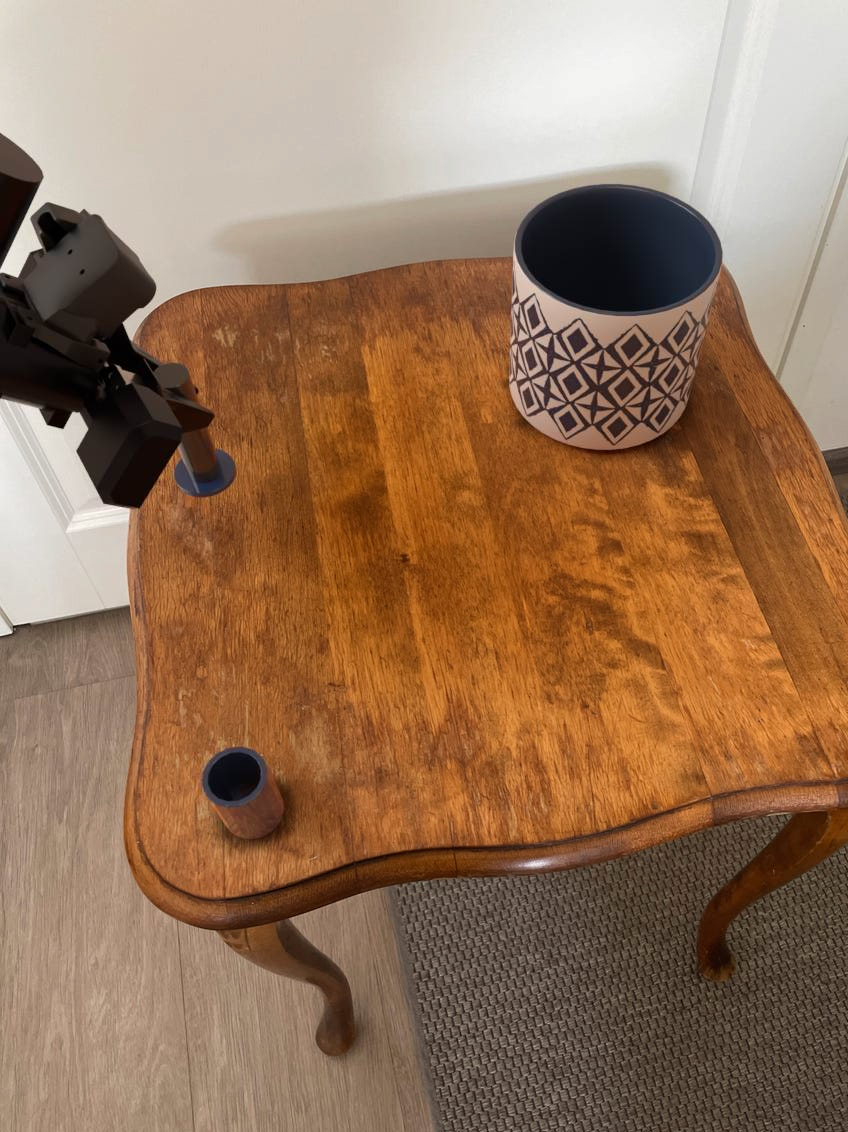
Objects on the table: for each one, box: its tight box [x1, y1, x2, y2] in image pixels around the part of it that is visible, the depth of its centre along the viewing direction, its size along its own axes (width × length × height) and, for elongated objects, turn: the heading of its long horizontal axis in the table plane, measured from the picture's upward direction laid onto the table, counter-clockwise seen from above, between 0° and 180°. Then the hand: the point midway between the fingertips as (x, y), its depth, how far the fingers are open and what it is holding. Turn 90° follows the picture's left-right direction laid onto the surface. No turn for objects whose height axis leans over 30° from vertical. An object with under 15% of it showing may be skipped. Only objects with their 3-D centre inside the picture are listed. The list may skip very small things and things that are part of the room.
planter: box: [508, 183, 724, 451], centre depth 77 cm, size 16×16×14 cm
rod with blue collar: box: [153, 362, 237, 498], centre depth 64 cm, size 4×4×10 cm
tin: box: [201, 746, 285, 840], centre depth 60 cm, size 4×4×6 cm
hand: (203, 407), depth 63 cm, fingers closed on rod with blue collar, 2 cm apart
